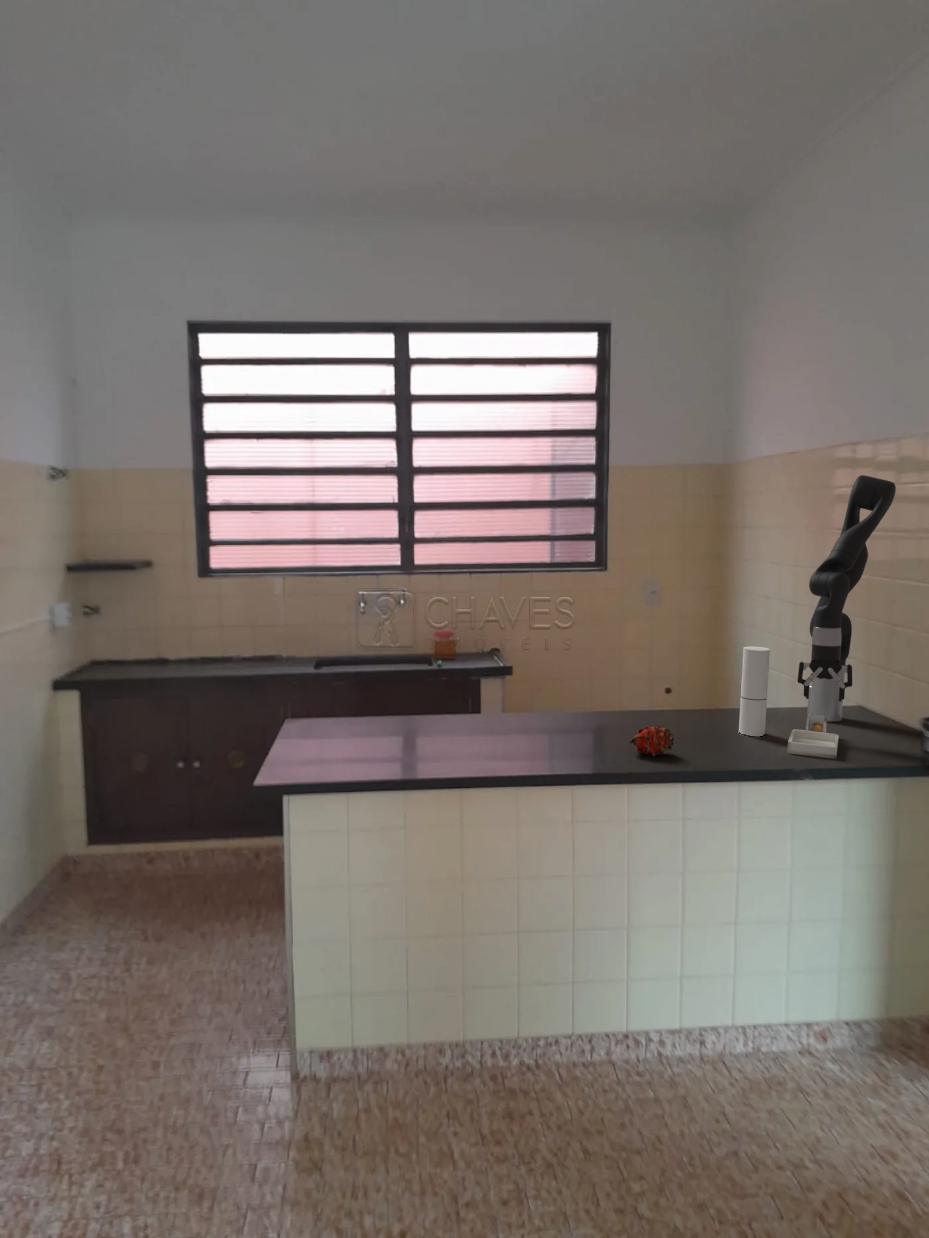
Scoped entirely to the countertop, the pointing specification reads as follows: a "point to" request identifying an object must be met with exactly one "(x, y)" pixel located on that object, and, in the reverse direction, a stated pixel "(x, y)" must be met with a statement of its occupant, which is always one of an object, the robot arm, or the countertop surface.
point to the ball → (817, 728)
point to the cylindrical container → (754, 690)
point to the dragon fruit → (653, 740)
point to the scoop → (816, 721)
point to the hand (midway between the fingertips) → (823, 699)
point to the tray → (813, 743)
